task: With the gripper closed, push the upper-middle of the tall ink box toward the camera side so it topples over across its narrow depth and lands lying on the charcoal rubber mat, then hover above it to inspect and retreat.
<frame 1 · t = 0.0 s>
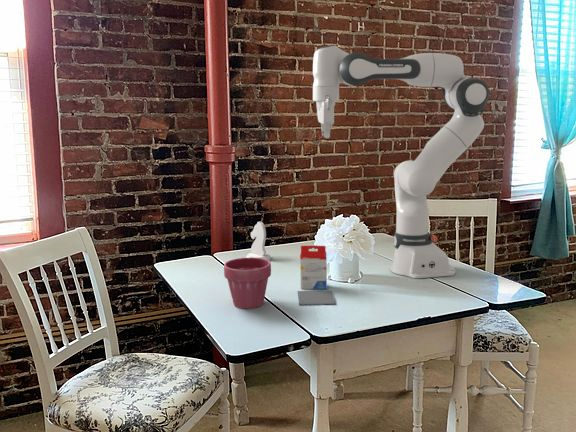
hand: (325, 137, 195), 48 cm above the table, fingers open, 8 cm apart
plant pot: (248, 304, 174), on the table
chess piece: (258, 259, 223), on the table
mat: (316, 298, 178), on the table
ink box: (313, 287, 189), on the table
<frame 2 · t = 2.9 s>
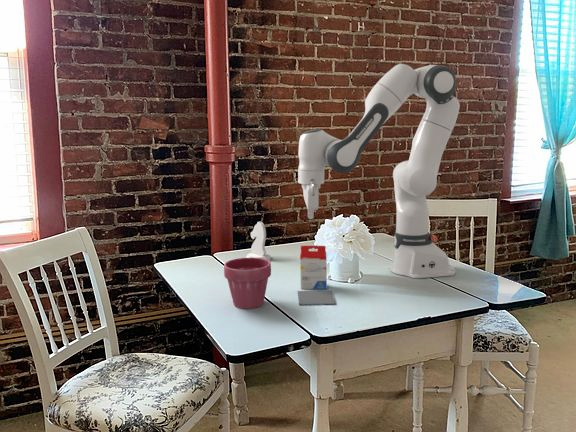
hand: (310, 218, 195), 21 cm above the table, fingers closed
nothing on the table moved.
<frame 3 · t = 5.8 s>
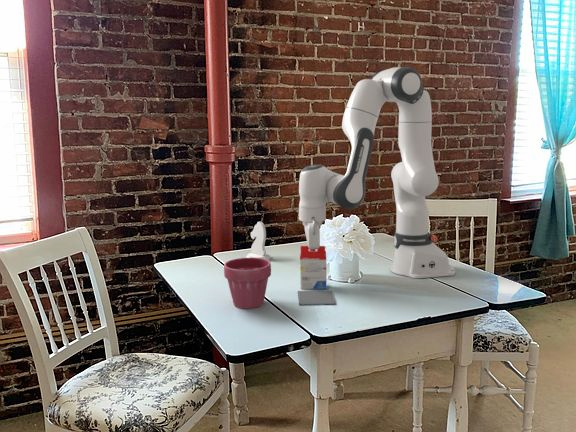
hand: (312, 255, 190), 10 cm above the table, fingers closed
ink box: (313, 287, 189), on the table, touching gripper
everything else where it was.
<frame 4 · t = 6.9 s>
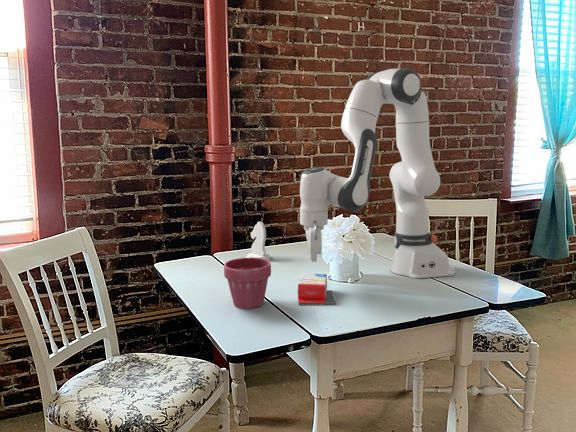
hand: (313, 260, 185), 10 cm above the table, fingers closed
ink box: (314, 280, 186), point 3 cm above the table, touching mat
everything else where it was.
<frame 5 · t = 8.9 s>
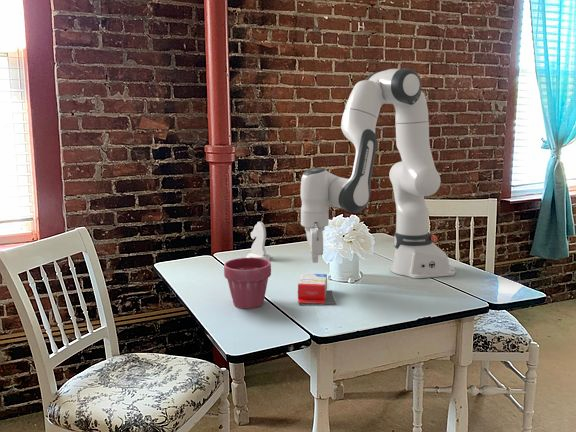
hand: (314, 261, 184), 9 cm above the table, fingers closed
nothing on the table moved.
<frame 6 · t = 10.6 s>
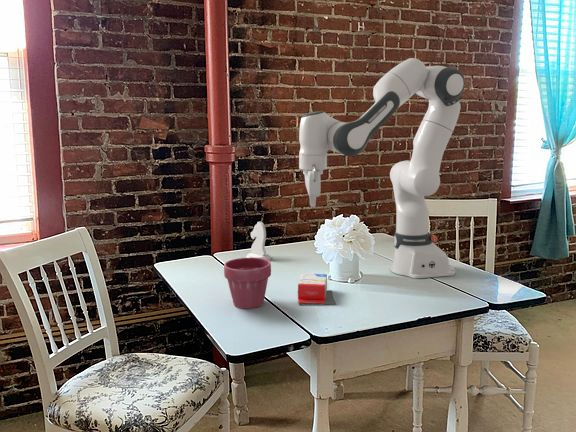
hand: (312, 206, 184), 27 cm above the table, fingers closed
nothing on the table moved.
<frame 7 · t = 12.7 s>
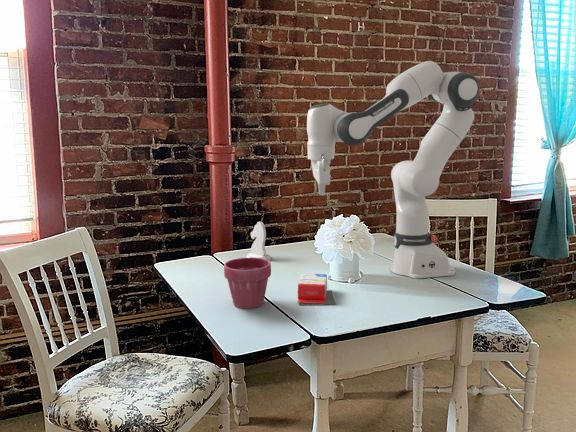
hand: (321, 194, 192), 29 cm above the table, fingers closed
nothing on the table moved.
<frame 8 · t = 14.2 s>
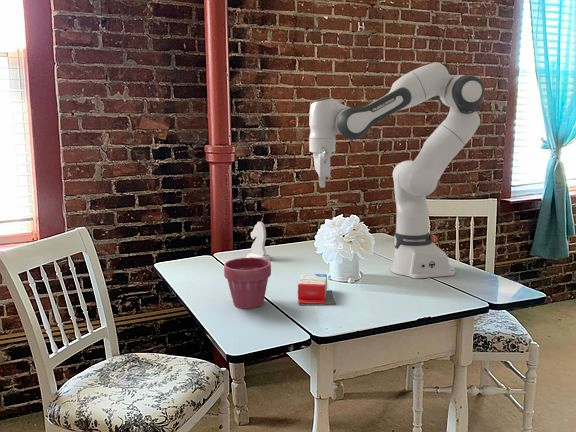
hand: (322, 187, 196), 31 cm above the table, fingers closed
nothing on the table moved.
at the end: ink box tilted 90°; ink box inside the target area (7.8 cm from its centre), point 2.9 cm above the table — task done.
